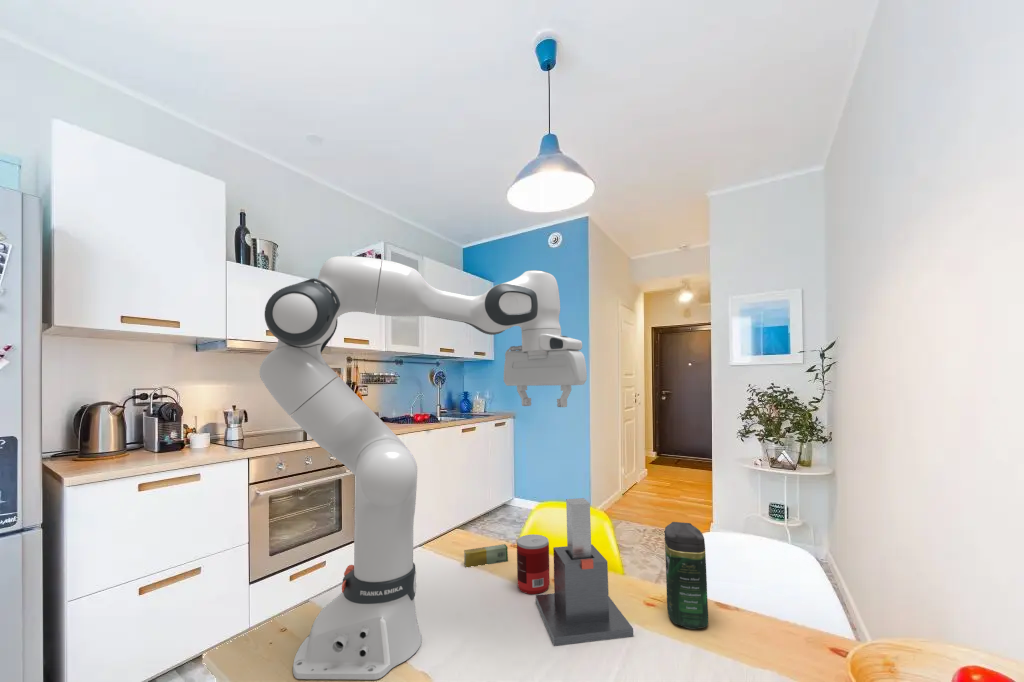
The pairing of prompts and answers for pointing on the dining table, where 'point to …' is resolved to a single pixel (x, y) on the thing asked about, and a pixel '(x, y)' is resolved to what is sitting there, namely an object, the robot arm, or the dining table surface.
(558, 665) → the dining table surface
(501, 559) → the medication box
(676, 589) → the coffee jar
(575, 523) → the column
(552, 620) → the stand housing
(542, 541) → the canned food
